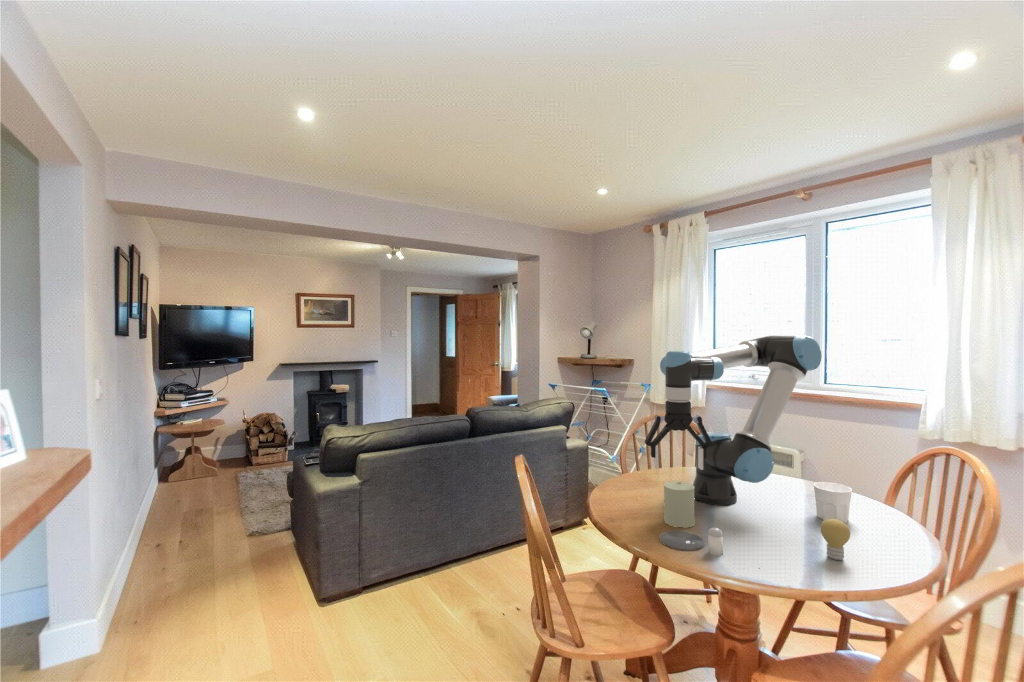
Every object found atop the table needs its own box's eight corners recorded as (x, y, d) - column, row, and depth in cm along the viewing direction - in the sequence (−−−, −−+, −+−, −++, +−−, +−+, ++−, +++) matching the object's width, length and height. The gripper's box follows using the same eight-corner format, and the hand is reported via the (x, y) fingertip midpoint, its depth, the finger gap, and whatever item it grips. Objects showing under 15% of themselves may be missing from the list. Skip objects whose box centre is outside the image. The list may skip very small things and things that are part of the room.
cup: (854, 517, 151) (854, 486, 151) (849, 527, 143) (849, 494, 143) (817, 509, 158) (817, 480, 157) (810, 518, 150) (810, 487, 150)
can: (694, 518, 151) (694, 481, 151) (695, 529, 143) (695, 490, 143) (664, 515, 154) (663, 478, 154) (663, 526, 146) (663, 487, 146)
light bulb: (814, 553, 127) (814, 515, 127) (837, 551, 127) (837, 514, 127) (833, 564, 120) (832, 525, 120) (856, 563, 121) (856, 524, 121)
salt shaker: (719, 550, 129) (719, 525, 129) (724, 556, 125) (724, 530, 125) (706, 549, 129) (706, 525, 129) (710, 556, 126) (710, 530, 126)
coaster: (696, 532, 140) (696, 530, 140) (710, 551, 128) (710, 549, 128) (655, 531, 141) (655, 529, 141) (665, 550, 129) (665, 547, 129)
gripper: (715, 399, 151) (715, 465, 151) (635, 398, 153) (635, 464, 153) (723, 402, 143) (723, 472, 144) (639, 401, 146) (639, 470, 146)
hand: (678, 468), depth 148 cm, fingers open, 13 cm apart
